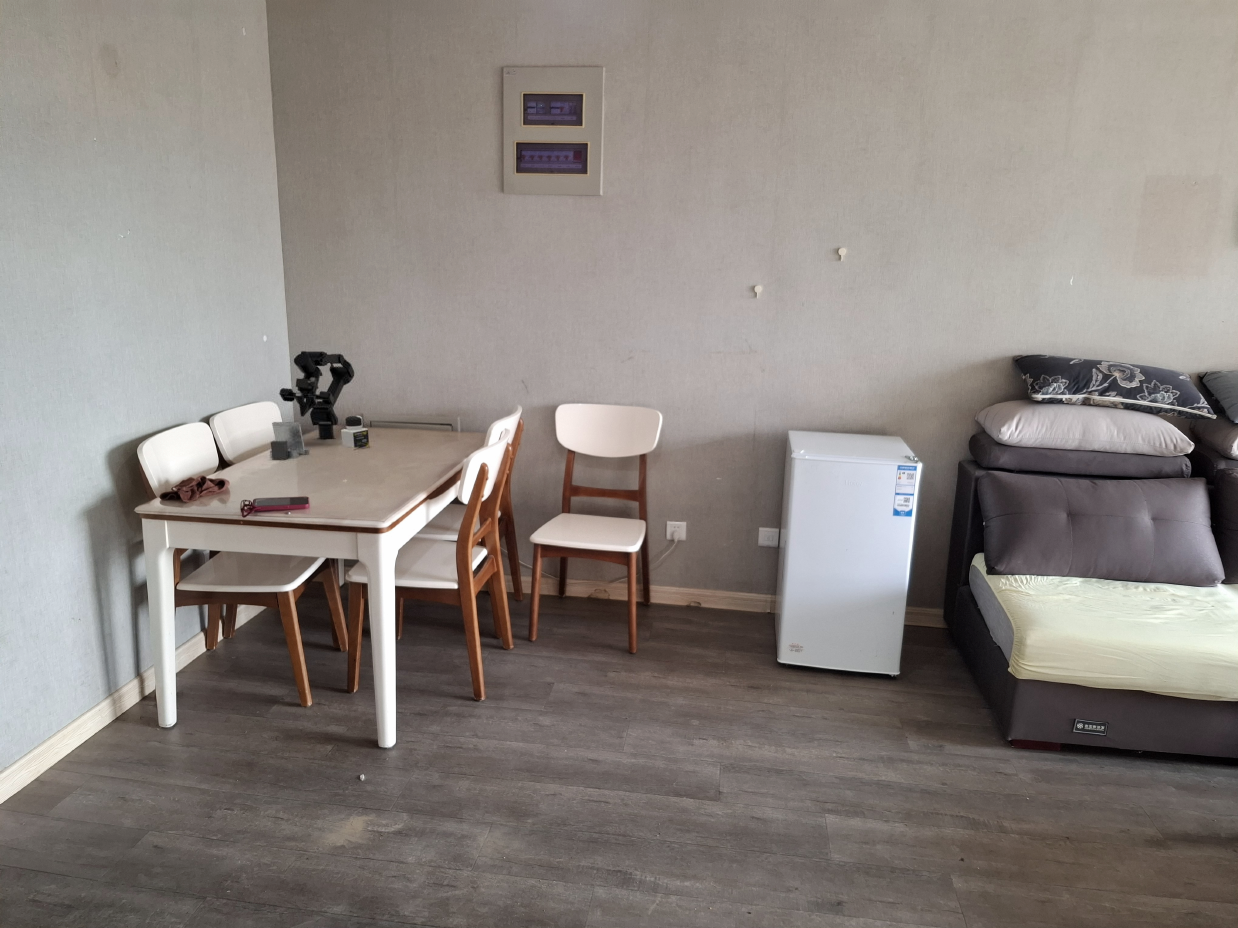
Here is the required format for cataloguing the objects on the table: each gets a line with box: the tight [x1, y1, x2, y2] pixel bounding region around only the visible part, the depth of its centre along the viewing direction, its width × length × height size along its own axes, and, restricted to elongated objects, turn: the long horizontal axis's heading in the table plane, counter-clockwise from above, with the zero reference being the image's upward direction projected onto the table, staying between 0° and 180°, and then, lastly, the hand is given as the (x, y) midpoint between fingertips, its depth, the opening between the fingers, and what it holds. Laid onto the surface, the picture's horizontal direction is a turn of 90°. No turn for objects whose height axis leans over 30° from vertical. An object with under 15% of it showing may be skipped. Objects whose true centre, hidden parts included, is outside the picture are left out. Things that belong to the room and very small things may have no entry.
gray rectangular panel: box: [271, 421, 306, 455], centre depth 300 cm, size 12×10×1 cm
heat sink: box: [269, 440, 310, 461], centre depth 297 cm, size 10×13×7 cm
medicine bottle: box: [340, 415, 370, 451], centre depth 316 cm, size 7×7×12 cm
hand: (302, 416), depth 310 cm, fingers closed
